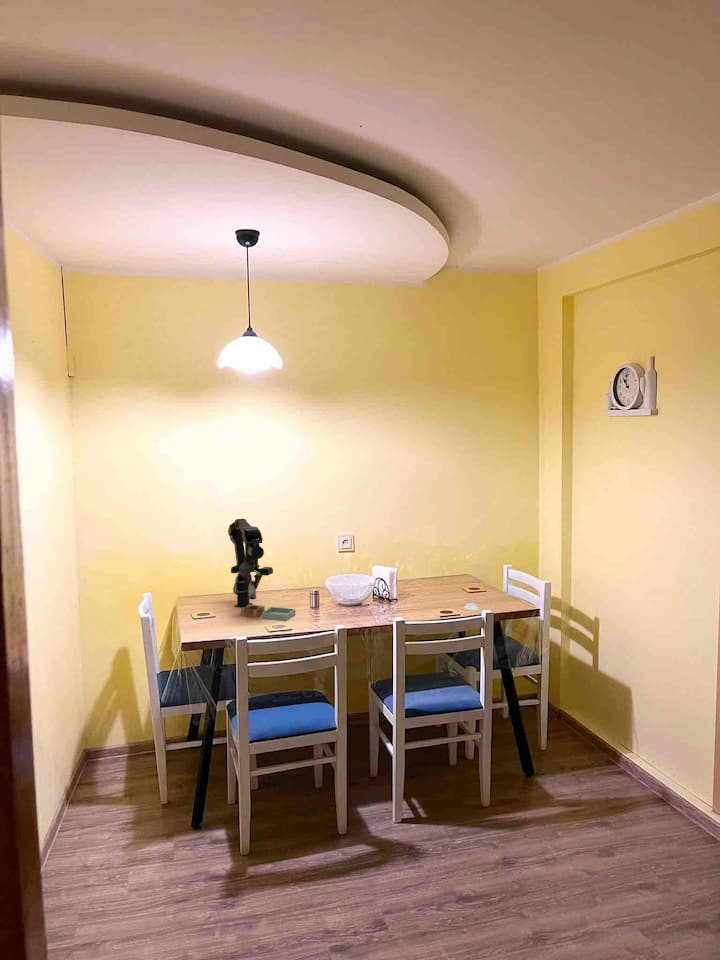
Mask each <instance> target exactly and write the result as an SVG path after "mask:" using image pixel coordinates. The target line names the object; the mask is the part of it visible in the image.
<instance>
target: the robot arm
mask: <svg viewBox="0 0 720 960" xmlns="http://www.w3.org/2000/svg"><path fill="white" fill-rule="evenodd" d="M227 534H228V537H229V539H230V541H231V543H232V544H233V545H234V552H235V553H234V554H235V560H236V561H235V562H236V565H233V566H232V567H230V573H231V574H237V575H236V577H235V580H234V584H233V588H232V591H233V594H234V595H236V597H237V598H236V600H237V601H236V604H235V605H234V607H236V608H244V607H246V606H247V605H253V602H250V599H249V588H248V581H251V580H253V578H254V581H255V589H256V590H257V589H258V586H259V584H260V581H261V579H262V577H265V576H270V575H271V574H274V568H273V567H272V566H264V567H261V568H260V564H259V559H261V558H263V556H264V555H265V550H264V548H263V546H261V545H260V544H263V536H262V535H263V534H262V532H261V530H260V529H259V527H257V526H252V525H251V524H250V523H249V522H248V521H247V519H246V518H236V519H234V522H232V523H231V524H230V525H229V526H228V529H227ZM251 573H255V574H254V575H253V578H252V574H251Z"/></svg>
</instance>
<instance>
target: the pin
mask: <svg viewBox="0 0 720 960" xmlns="http://www.w3.org/2000/svg"><path fill="white" fill-rule="evenodd" d="M248 588H249V600H257V589H255V579H254V580H253V579H252V580H251V581H248Z"/></svg>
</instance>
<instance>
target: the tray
mask: <svg viewBox="0 0 720 960" xmlns="http://www.w3.org/2000/svg"><path fill="white" fill-rule="evenodd" d="M294 616H296V608H289V607H288V608H287V607H276V606H270V607H269V608H267V609H266V610H265V611H264V612H262V614H261V619H262V620H273V621H282V622H287V621H289V620H290V619H292V618H293V617H294Z"/></svg>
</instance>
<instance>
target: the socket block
mask: <svg viewBox="0 0 720 960" xmlns="http://www.w3.org/2000/svg"><path fill="white" fill-rule="evenodd" d="M264 611H266V610H265V605H258V604H252V605H247V606H246V607H241V608H240V616H241V617H249V618H259V616H262V612H264Z"/></svg>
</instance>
